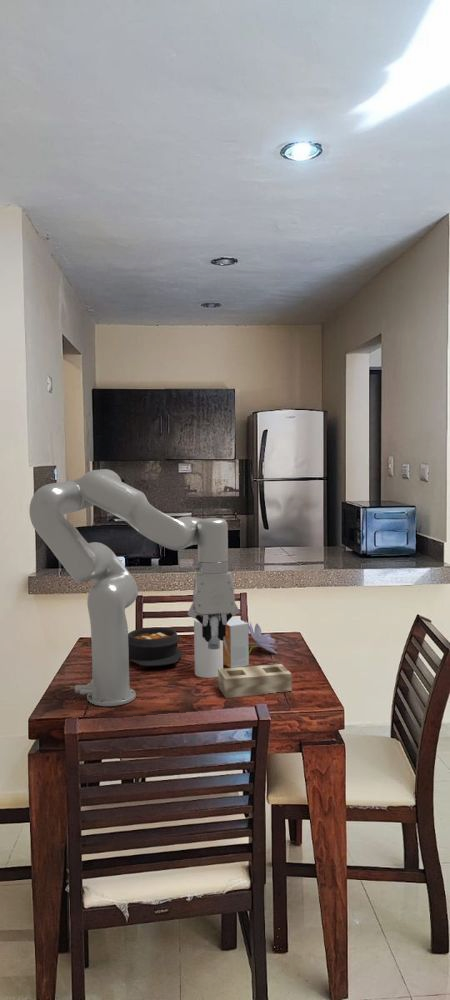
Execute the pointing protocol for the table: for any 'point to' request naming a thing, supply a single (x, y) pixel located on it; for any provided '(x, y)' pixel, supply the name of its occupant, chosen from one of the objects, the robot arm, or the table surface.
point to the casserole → (153, 646)
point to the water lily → (261, 638)
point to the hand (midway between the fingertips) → (214, 639)
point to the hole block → (254, 680)
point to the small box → (236, 644)
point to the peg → (214, 631)
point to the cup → (206, 655)
